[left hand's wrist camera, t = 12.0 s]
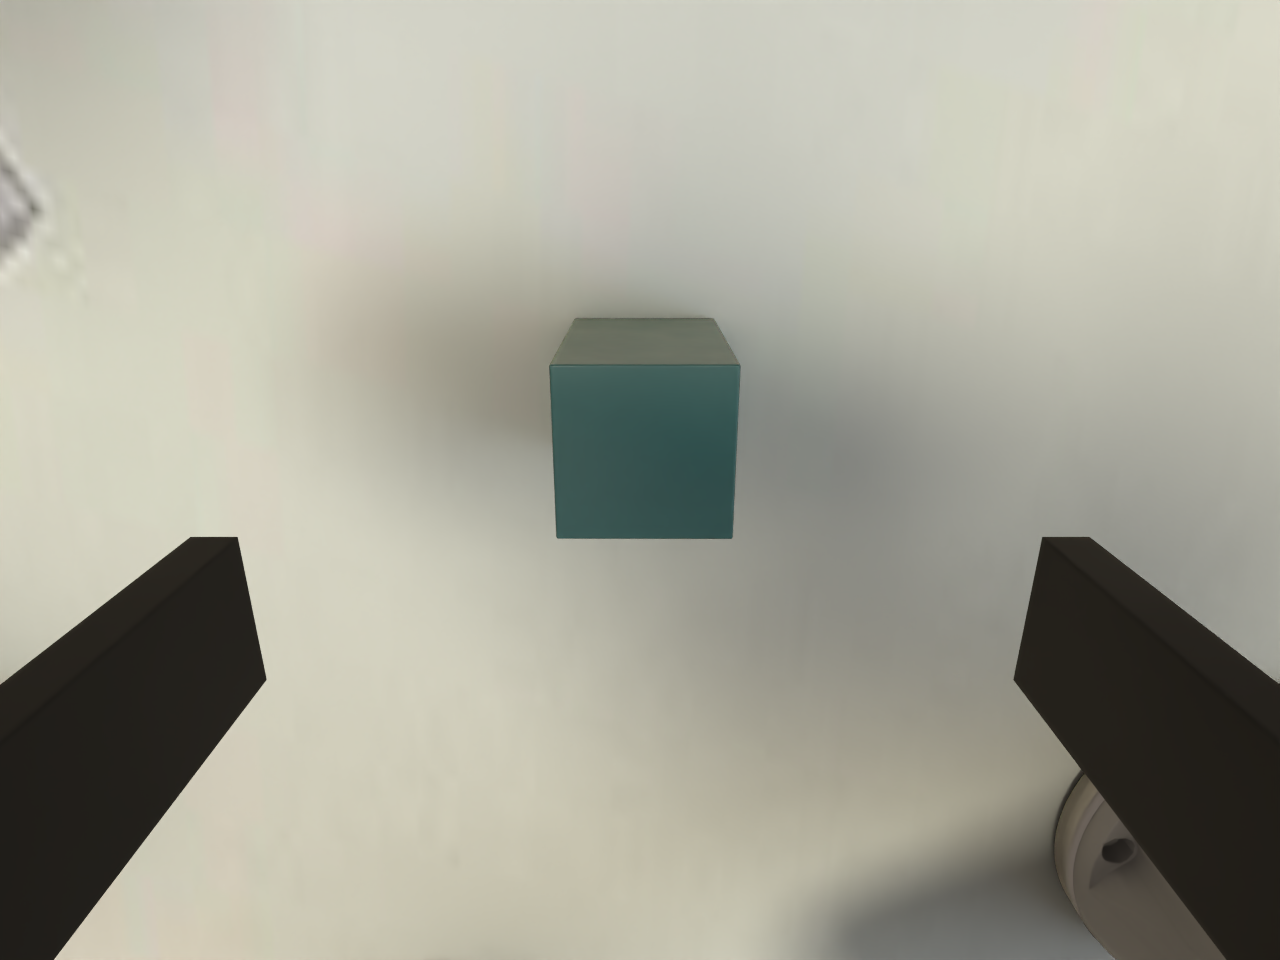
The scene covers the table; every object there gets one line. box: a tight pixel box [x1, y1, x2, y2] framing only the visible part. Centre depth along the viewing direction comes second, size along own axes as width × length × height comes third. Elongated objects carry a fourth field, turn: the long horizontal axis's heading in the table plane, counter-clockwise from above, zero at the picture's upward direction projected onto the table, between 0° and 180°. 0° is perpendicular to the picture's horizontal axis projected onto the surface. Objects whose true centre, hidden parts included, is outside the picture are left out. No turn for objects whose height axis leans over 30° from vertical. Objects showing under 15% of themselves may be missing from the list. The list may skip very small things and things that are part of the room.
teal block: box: [549, 319, 740, 539], centre depth 25 cm, size 5×5×8 cm
